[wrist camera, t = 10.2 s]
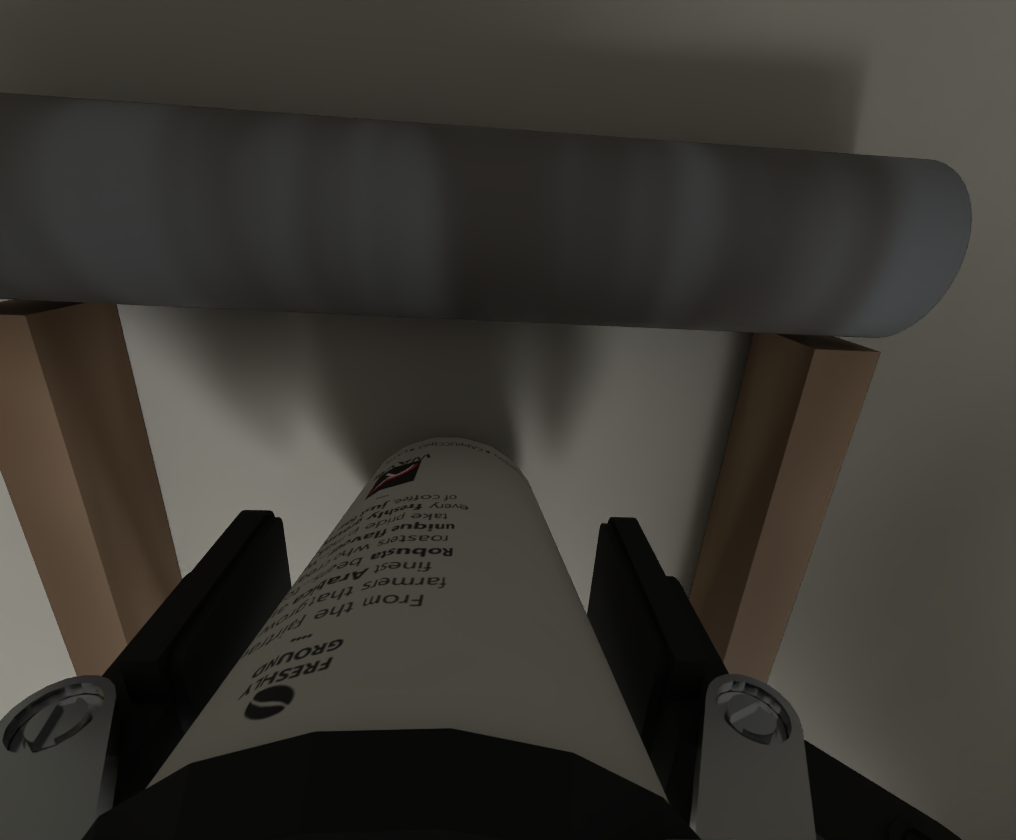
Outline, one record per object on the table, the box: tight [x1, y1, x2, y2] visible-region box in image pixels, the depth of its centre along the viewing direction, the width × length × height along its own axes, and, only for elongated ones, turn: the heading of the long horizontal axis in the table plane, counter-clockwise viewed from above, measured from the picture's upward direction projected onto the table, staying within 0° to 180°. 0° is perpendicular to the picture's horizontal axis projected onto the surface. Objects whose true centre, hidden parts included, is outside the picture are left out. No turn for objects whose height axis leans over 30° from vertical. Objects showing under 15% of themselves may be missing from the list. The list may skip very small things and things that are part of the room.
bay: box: [0, 93, 972, 684], centre depth 12 cm, size 19×16×4 cm
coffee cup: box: [81, 437, 702, 840], centre depth 9 cm, size 7×7×10 cm
